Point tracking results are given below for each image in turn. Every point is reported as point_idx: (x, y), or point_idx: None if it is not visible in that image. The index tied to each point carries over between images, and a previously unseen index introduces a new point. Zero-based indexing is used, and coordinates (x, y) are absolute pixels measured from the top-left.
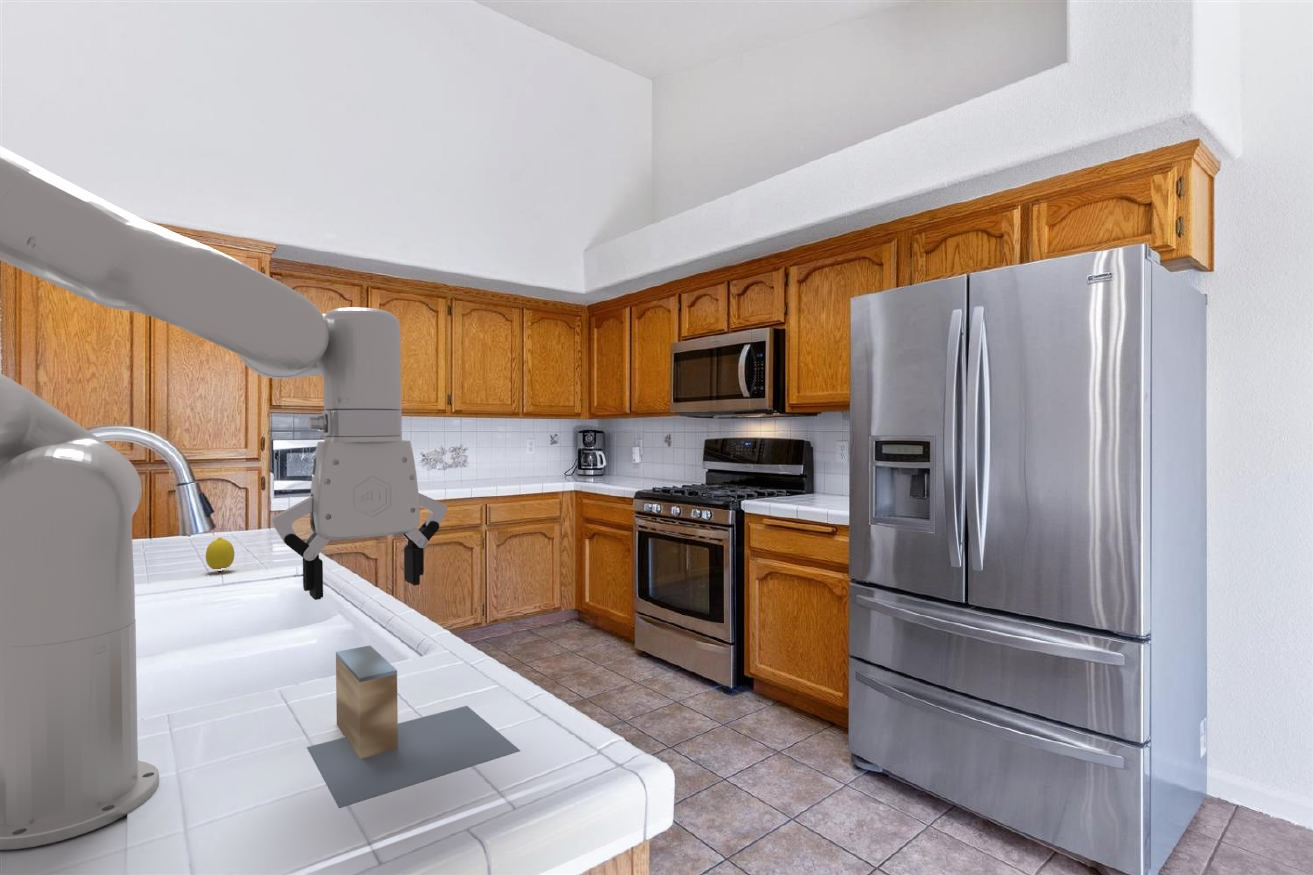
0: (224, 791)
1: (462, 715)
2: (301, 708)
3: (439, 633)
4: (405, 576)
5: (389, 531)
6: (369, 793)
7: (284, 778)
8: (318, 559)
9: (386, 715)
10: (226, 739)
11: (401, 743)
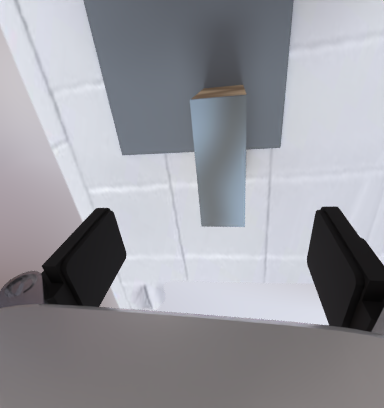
0: (373, 97)
1: (129, 133)
2: (258, 240)
3: None
4: (121, 257)
5: (87, 315)
6: None
7: (316, 93)
8: (370, 291)
9: (211, 91)
10: None
11: None
